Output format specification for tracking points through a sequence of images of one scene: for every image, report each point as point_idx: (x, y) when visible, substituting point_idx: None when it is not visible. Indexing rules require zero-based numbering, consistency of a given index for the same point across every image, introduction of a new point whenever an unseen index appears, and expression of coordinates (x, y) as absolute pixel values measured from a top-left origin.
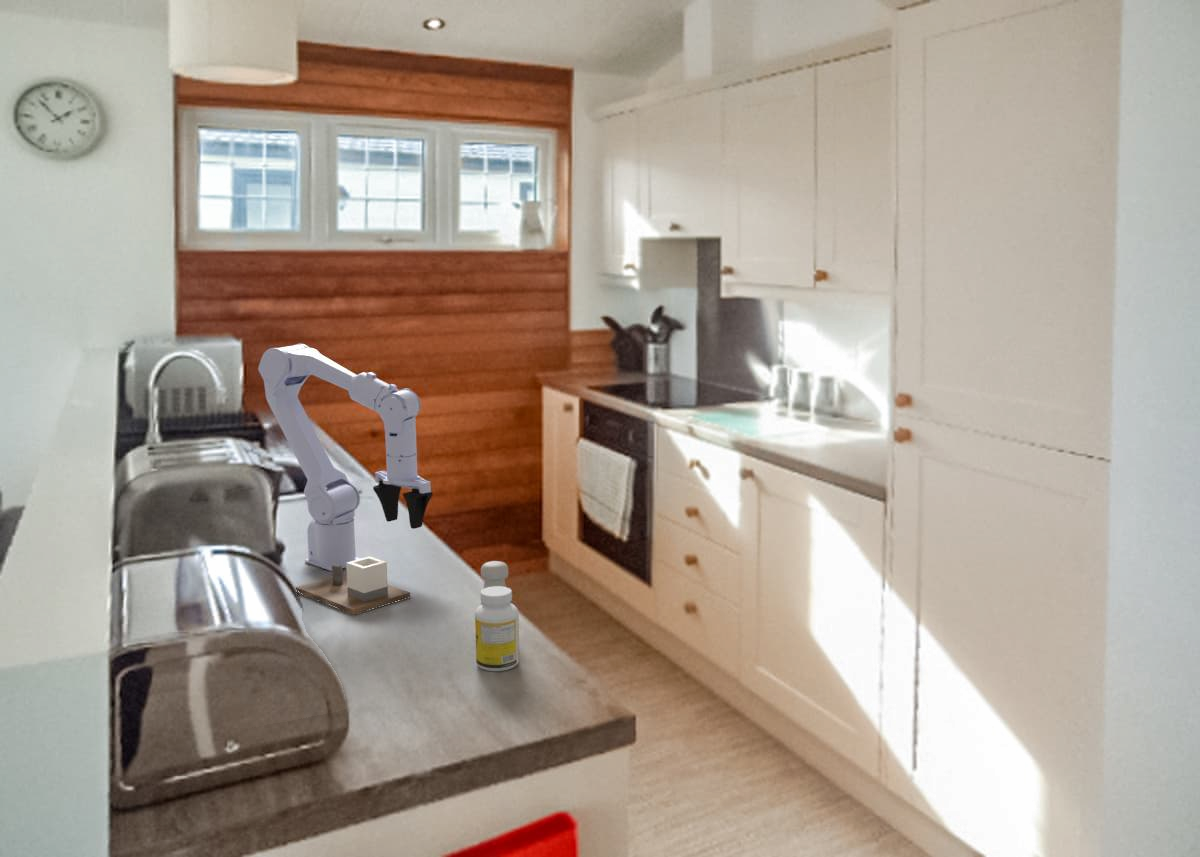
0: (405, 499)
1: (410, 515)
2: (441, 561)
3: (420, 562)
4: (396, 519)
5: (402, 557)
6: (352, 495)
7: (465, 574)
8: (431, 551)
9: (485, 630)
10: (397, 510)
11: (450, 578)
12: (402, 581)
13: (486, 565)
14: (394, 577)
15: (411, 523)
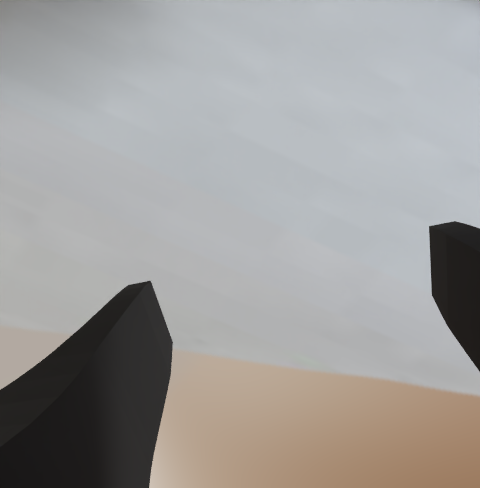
0: (9, 434)
1: (88, 333)
2: (296, 330)
3: (338, 270)
4: (432, 292)
5: None
6: None
7: None
8: (430, 352)
9: None
10: (465, 346)
11: (85, 273)
12: (144, 102)
13: None
14: (218, 97)
15: (120, 298)
